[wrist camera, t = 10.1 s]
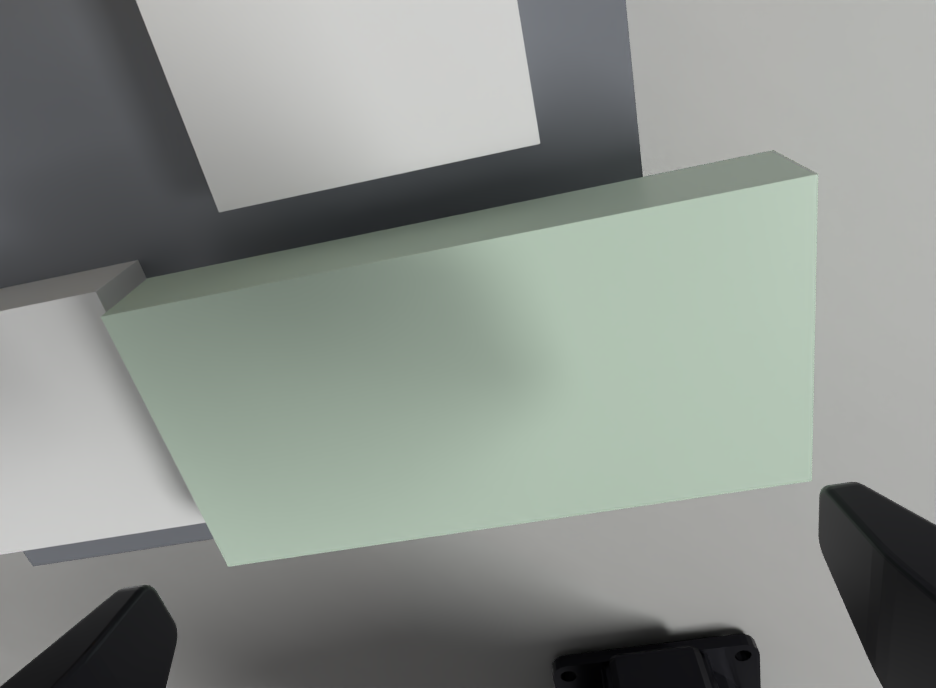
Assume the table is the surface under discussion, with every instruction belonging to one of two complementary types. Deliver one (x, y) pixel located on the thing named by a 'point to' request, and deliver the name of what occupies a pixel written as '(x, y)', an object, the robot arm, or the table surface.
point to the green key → (492, 363)
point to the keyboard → (245, 190)
